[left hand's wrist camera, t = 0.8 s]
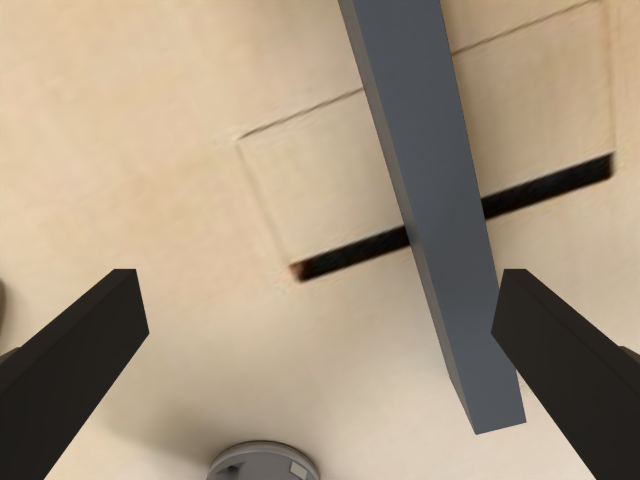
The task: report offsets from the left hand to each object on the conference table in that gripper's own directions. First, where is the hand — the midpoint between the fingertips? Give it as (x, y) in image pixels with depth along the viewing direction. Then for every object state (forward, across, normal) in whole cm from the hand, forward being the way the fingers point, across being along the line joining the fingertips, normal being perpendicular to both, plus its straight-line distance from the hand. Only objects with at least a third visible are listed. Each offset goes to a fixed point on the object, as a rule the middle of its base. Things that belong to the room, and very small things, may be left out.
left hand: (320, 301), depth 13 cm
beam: (+22, -3, -16) cm, 27 cm away
